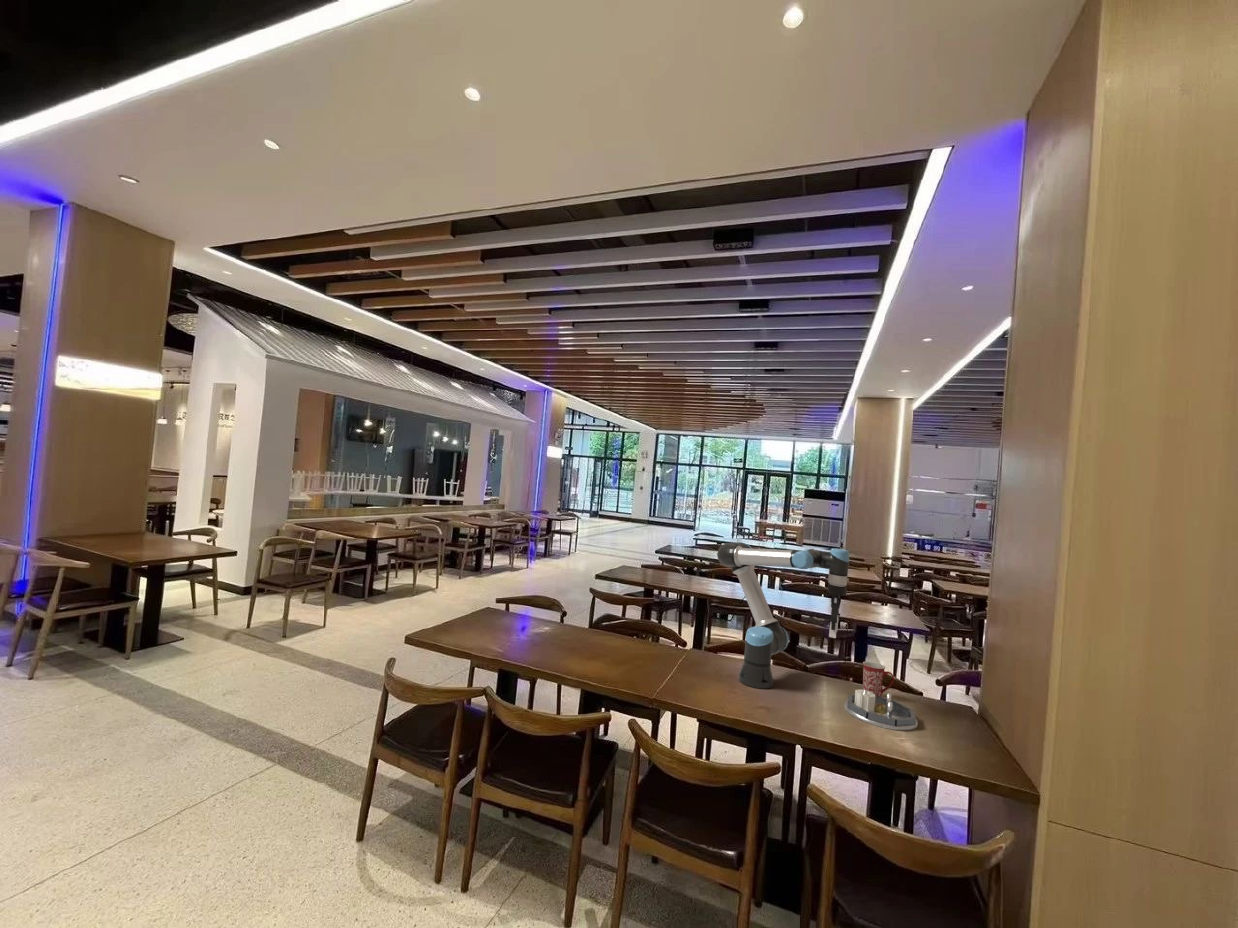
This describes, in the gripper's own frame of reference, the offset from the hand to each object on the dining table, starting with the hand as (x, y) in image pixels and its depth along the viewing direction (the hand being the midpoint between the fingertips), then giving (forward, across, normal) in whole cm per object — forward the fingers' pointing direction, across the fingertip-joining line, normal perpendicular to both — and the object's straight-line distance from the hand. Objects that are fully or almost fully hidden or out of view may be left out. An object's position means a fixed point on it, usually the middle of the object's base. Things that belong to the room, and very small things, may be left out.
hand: (833, 634), depth 228 cm
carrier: (+27, -7, -20) cm, 34 cm away
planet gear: (+26, -7, -14) cm, 30 cm away
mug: (+27, +15, -19) cm, 36 cm away
